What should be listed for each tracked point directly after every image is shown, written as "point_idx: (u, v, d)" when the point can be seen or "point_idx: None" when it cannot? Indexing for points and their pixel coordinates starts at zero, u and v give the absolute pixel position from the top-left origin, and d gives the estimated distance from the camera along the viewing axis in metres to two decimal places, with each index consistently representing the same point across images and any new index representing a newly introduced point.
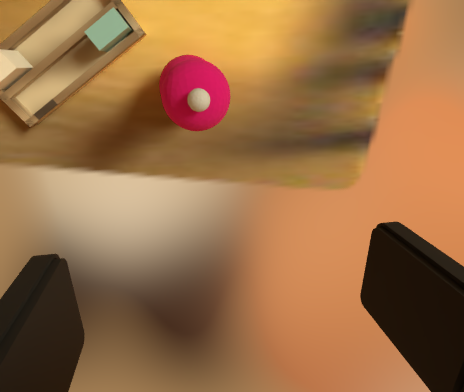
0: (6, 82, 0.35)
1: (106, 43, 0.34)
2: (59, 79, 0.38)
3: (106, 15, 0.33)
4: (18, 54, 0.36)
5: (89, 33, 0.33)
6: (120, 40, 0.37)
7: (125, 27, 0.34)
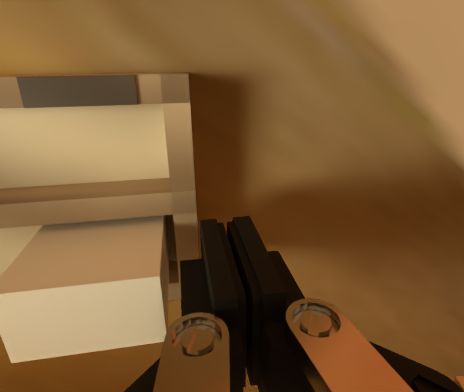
0: (115, 245, 0.09)
1: None
2: None
3: None
4: None
5: None
6: None
7: None
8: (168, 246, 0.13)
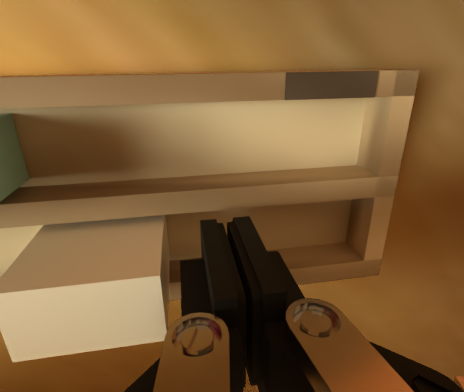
0: (115, 245, 0.09)
1: None
2: (220, 134, 0.11)
3: None
4: None
5: None
6: None
7: None
8: (168, 246, 0.13)
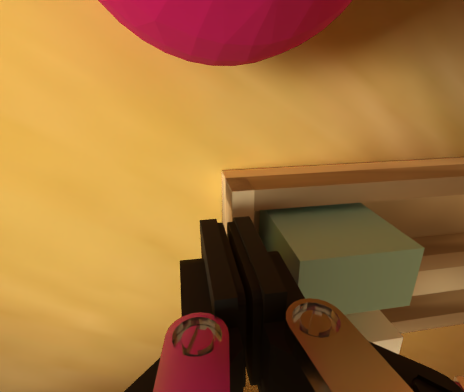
0: None
1: (391, 254, 0.10)
2: None
3: None
4: None
5: (403, 295, 0.10)
6: None
7: (308, 264, 0.09)
8: None
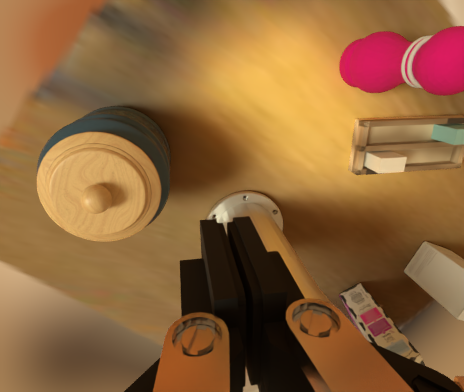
0: (390, 154, 0.46)
1: None
2: (426, 131, 0.49)
3: (460, 143, 0.45)
4: (365, 163, 0.48)
5: None
6: (447, 124, 0.48)
7: (459, 130, 0.45)
8: None
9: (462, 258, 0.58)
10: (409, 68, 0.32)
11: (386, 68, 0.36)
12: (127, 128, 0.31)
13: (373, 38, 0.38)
